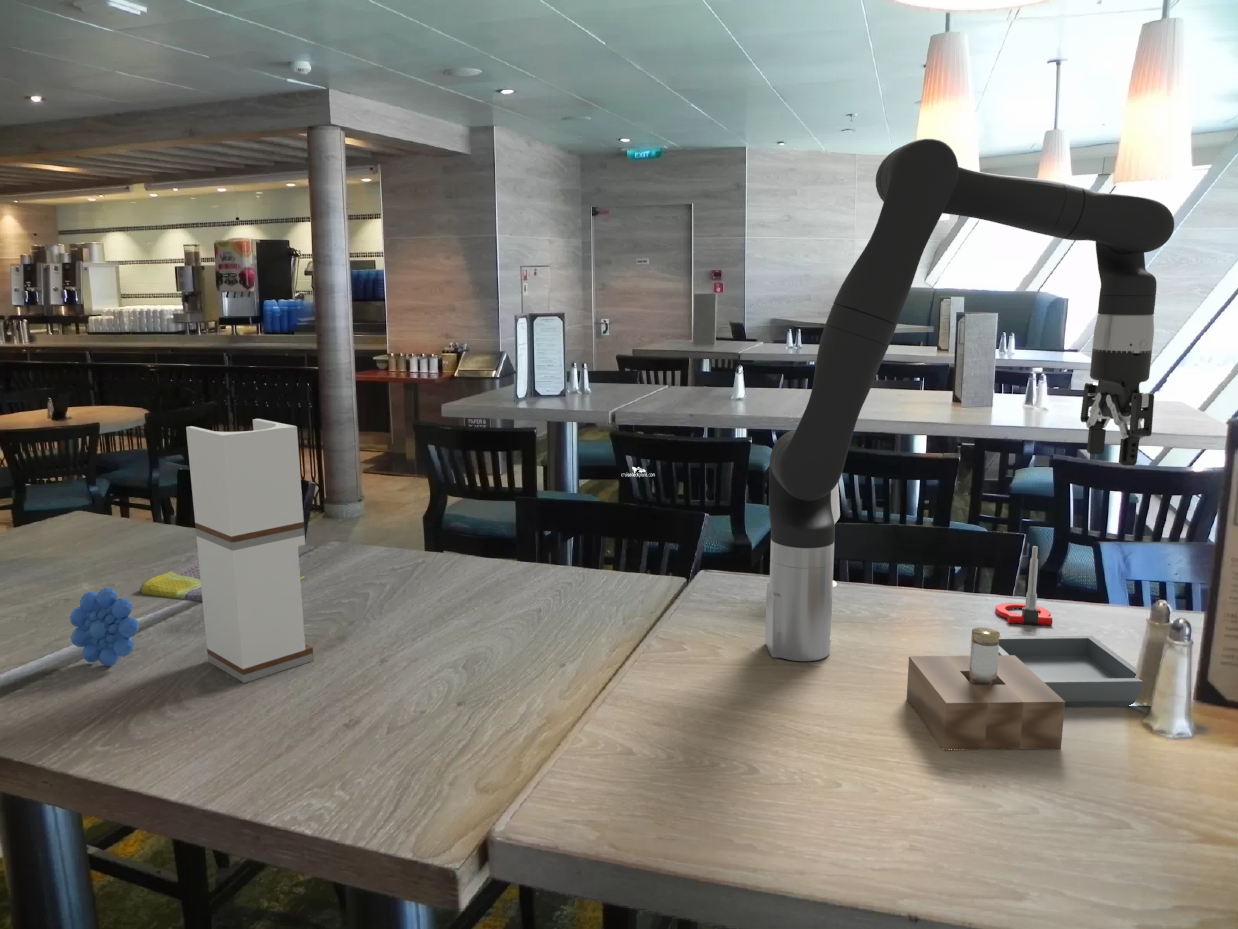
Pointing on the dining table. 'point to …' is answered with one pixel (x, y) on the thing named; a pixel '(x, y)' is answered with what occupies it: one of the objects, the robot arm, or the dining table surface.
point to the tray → (1077, 669)
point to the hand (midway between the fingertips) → (1110, 459)
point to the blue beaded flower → (103, 626)
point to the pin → (984, 656)
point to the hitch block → (984, 705)
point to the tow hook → (1027, 602)
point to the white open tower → (250, 547)
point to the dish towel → (178, 583)
